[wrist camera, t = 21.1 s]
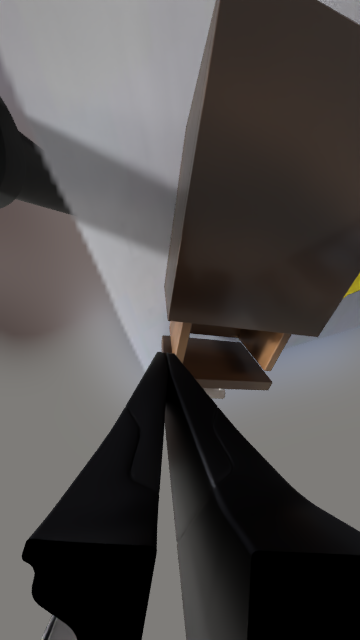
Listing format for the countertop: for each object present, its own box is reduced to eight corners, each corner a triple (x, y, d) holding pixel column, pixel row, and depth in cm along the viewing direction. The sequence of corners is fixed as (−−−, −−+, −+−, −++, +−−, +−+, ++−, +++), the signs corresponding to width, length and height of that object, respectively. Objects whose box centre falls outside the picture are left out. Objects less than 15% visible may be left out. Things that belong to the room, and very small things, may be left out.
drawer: (228, 371, 25) (252, 416, 19) (157, 368, 23) (156, 417, 17) (274, 260, 18) (338, 272, 12) (176, 241, 16) (188, 241, 10)
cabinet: (257, 300, 21) (318, 337, 13) (164, 286, 19) (167, 321, 11) (311, 168, 15) (478, 90, 7) (186, 126, 13) (228, -54, 5)
